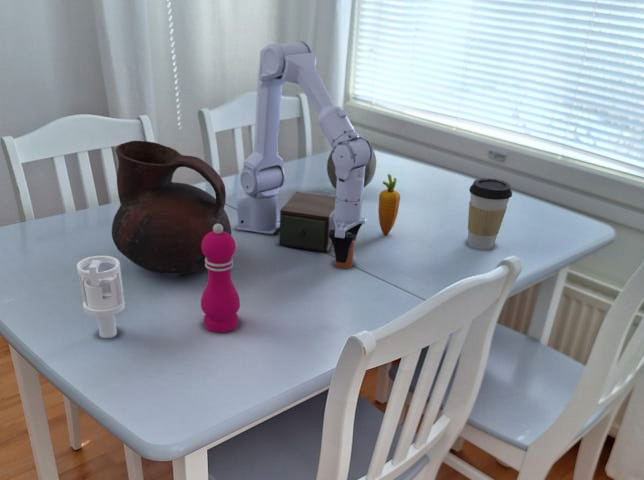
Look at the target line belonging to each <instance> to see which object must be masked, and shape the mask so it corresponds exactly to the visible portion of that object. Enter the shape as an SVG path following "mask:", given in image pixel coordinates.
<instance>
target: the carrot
mask: <svg viewBox="0 0 644 480" xmlns="http://www.w3.org/2000/svg"><path fill="white" fill-rule="evenodd" d="M387 179H388V181H386V180H383V181H382V184H383V185H385V186H386V188H387V189H386V188H385V189H384V190H382V191H381V192H380V193H379V195H378V197H379V198H378V222H379V227H380V230H381V233H382V235H383V236H384V237H386V236H387V235H389V233H390V232H391V230H392V229H393V228H394V226H395V223H396V219H397V217H398V213H399V208H400V207H399V206H400V200H401V194H400V193H399V192H398V191H397V190H396V189H395V187H396V185H397V178H396V177H394V178H393V177H392V174H391V173H388V174H387Z"/></svg>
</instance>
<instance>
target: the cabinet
mask: <svg viewBox="0 0 644 480" xmlns="http://www.w3.org/2000/svg"><path fill="white" fill-rule="evenodd" d="M335 199H336V196H332V195H325V194H317V193H309V192H302V191H295V193H294V194H293V195H292V196H291V198H289V200H288V201H287V202H286V203H285V204H284V205H283V206H282V207H281V209H280V211H279V221H280V227H279V246H283V247H290V248H297V249H305V250H311V251H316V252H324V253H327V252H328V251H329V250H330V248H331V246H332V245H333V243H332V241H331V239H330V237H329V232H330V230H335V228H336V227H335V224H334V221H333V216H334V213H335ZM287 214H288V215H295V216H302V217H309V218H316V219H323V220H326V234H325V248H324V250H319V249H313V248H306V247H299V246H293V245H286V244H281V216H282V215H287Z"/></svg>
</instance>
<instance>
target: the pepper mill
mask: <svg viewBox="0 0 644 480" xmlns="http://www.w3.org/2000/svg"><path fill="white" fill-rule="evenodd" d="M201 248H202V252H203V254H204V255H205V256H206V258H205V262H206V263H205V268H206V269H207V272H208V280H207V283H206V286H205V288H204V290H203V292H202V295H201V297H200V298H201V299H200V308H201V311H202V312H203V313H204V316H203V321H204V322H203V324H204V327H205V329H207V330H208V331H210V332H213V333H227V332H232V331H233V330H235V329H236V328H237V327H238V323H239V320H238V319H239V316H238V312H239V310H240V308H241V300H240V296H239V293H238V291H237V289H236V287H235V286H234V283H233V281H232V276H231V270H232V268H233V267H234V258H233V256H234V254H235V253H236V249H237V245H236V241H235V238H234V237H233V236H232V234H231V235H230V234H229V233H227V232H224V231H223V226H222V225H221V224H215V225H214V226H213V231H212V232H210V233H208V234H207V235H206V236H205V237H204V238H203V240H202V245H201Z"/></svg>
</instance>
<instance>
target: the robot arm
mask: <svg viewBox="0 0 644 480" xmlns="http://www.w3.org/2000/svg"><path fill="white" fill-rule="evenodd" d="M259 53H260V54H259V68H258V71H257V84H256V85H257V86H256V103H255V121H254V122H255V123H254V139H253V140H254V141H253V151H252V153H250V155H249V156H247V158H246V159H244V161H243V165H242V166H243V167H242V170H241V172H240V177H239V178H240V179H239V181H240V186H241V188H242V190H241V191H240V192H239V194H238V197H237V205H236V209H237V211H236V212H237V215H236V216H237V227H236V230H238V231H245V232H251V233H256V234H257V233H259V234H264V235H270V236H272V235H274V234H275V233H276V231H277V230H279V229H280V220H278V193H280V192H281V188H282V187H283V186H284V185H285V181H286V174H285V169H284V159H283V158H282V157H281V156H280V155H279V154H278V144H279V133H280V121H281V120H280V118H281V104H282V95H283V92H282V91H283V86H284V84H285V83H287V82H288V83H293V84H296V85H298V86H299V87H300V88H301V89H302V91H303V93H304V94H305V95H306V97H307V98H308V100H309V102H310V103H311V104H312V106H313V107H314V108H315V110H316V112H317V113H318V121H317V124H318V126H319V128H320V129H321V131H322V133H323V134H324V136H325V138H326V139H327V141H328V143H329V145H330V146H331V149H332V150H334V153H332V159H333V162H334V165H335V169H336V170H335V174H336V176H337V184H336V189H335V197H336V199H335V213H334V216H333V221H334V224H335V227H336V228H335V230H330V232H329V237H330V239H331V241H332V245H333V250H334V256H335V257H336V262H340V263H346V261H347V258H348V254H349V250H350V246H351V244H352V241H353V240H355V241H357V236H358V234H359V231H360V229H361V227H362V226H363V225H365V224H366V222H367V218H366V217H362V210H363V209H362V208H363V196H364V188H365V187H364V176H365V165H367V164H368V163H369V162H370V161H371V159H372V149H373V147H372V145H371V143H370V141H369V139H367V138H366V137H365V136H362V135H361V134H360V133H358V132H357V131H356V129H355V128H354V126H353V125H352V124H353V123H352V122H351V121H350V119H349V117H348V114H347V112H346V110H345V109H343V107H341V106H337V105H335V104H334V102H333V101H332V98H331V96H330V95H329V92H328V90H327V88H326V86H325V84H324V82H323V80H322V78H321V76H320V74H319V72H318V69H317V67H316V65H317V57H316V55H315V53H314V52H313V50H312V48H311V45H309V43H308V42H306V41H305V40H299V41H295V42H285V43H270V44H268V45H266V46H264V48H262V49H261V50H260V52H259ZM362 166H363V167H362ZM363 187H364V188H363ZM349 232H350V233H352V234H348V233H349ZM354 245H356V242H355V243H354Z"/></svg>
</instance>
